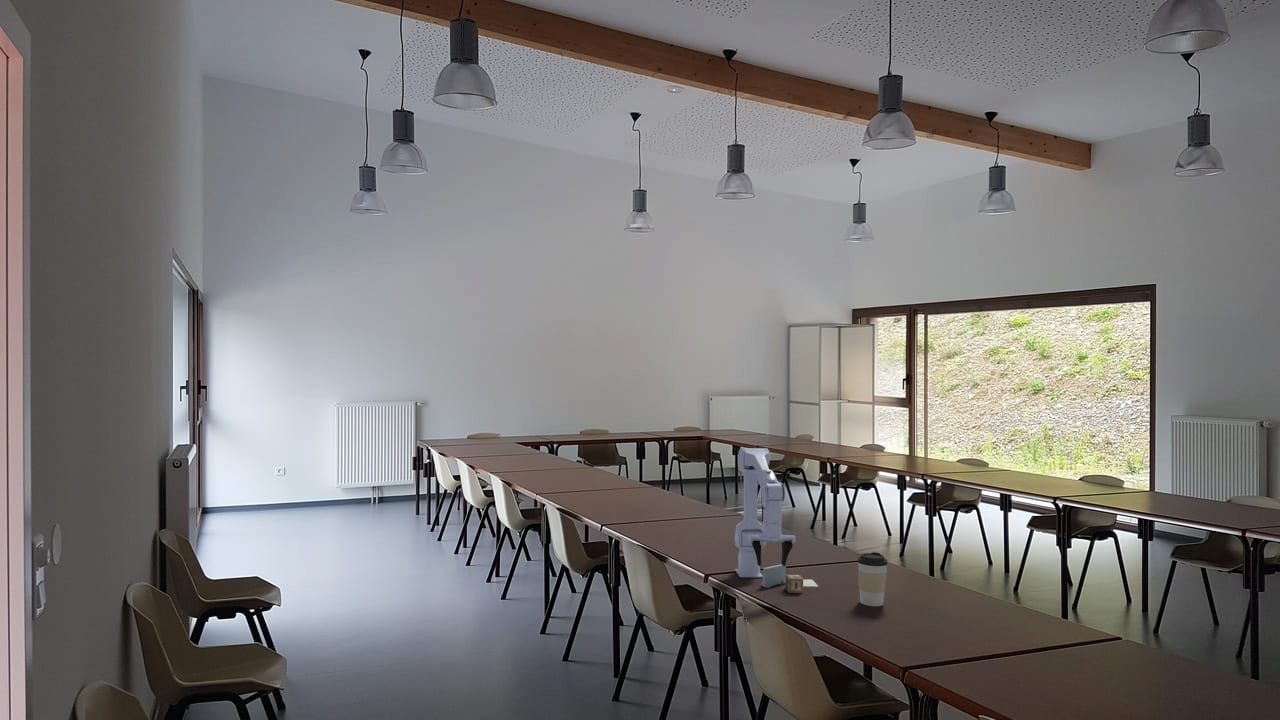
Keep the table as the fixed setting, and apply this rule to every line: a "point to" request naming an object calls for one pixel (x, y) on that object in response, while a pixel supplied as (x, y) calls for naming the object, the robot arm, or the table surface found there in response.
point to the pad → (809, 583)
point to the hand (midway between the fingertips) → (771, 565)
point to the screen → (774, 575)
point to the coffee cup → (872, 578)
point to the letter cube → (794, 584)
